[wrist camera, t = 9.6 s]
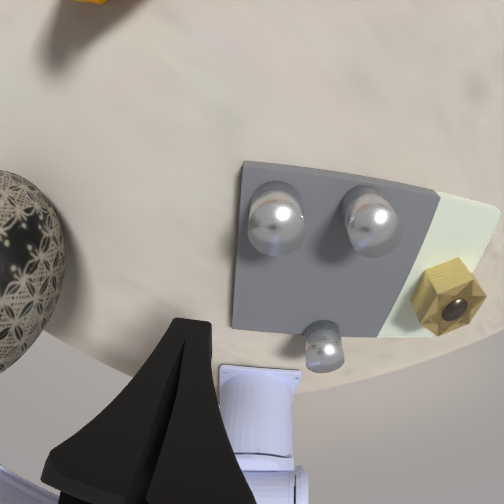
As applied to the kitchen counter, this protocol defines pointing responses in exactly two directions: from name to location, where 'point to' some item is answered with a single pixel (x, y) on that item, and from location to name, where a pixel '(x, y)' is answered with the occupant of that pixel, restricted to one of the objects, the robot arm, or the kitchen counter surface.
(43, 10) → the kitchen counter surface
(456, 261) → the brass nut
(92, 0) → the pipe clamp
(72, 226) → the kitchen counter surface
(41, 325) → the decorative egg
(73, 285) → the kitchen counter surface
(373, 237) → the cylinder
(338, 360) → the cylinder
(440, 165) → the kitchen counter surface
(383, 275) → the board
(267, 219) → the cylinder
